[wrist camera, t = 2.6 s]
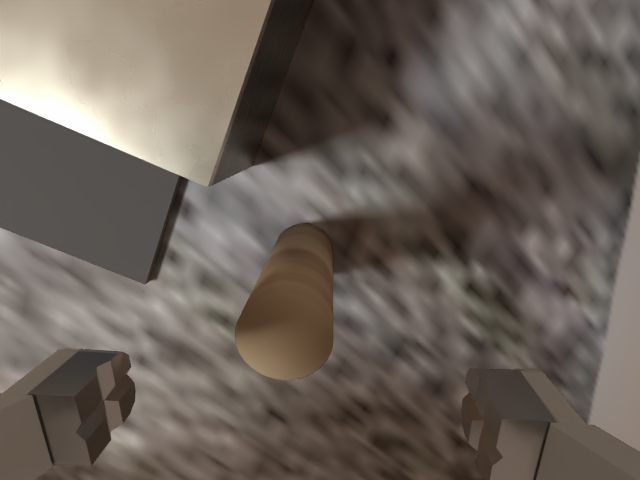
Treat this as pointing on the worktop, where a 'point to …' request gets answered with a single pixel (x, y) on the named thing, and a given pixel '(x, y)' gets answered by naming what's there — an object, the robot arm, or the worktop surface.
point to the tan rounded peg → (290, 307)
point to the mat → (82, 194)
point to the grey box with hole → (154, 74)
